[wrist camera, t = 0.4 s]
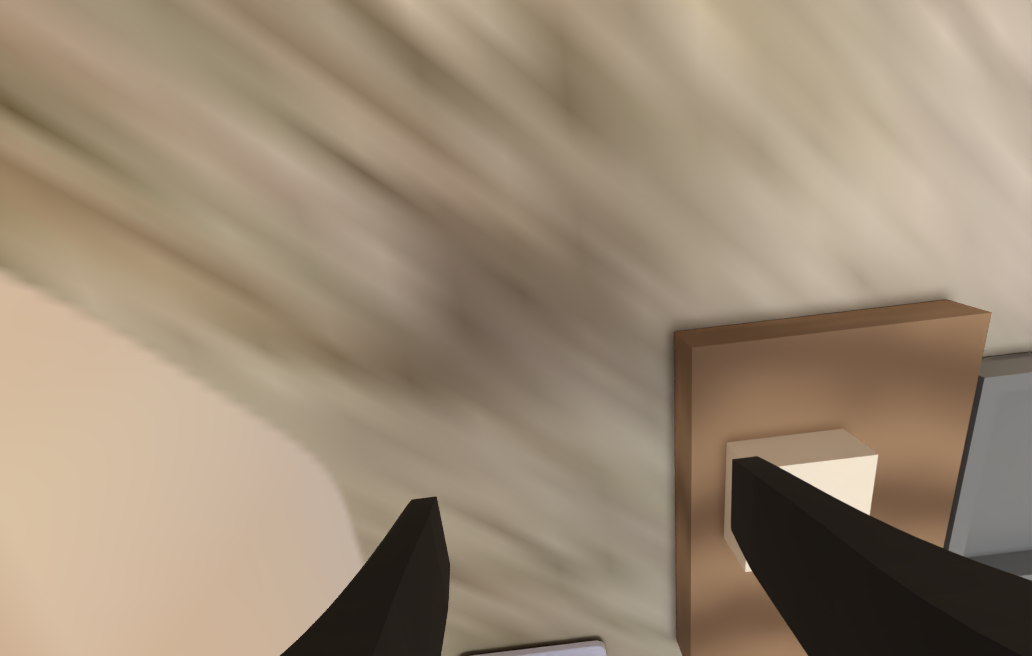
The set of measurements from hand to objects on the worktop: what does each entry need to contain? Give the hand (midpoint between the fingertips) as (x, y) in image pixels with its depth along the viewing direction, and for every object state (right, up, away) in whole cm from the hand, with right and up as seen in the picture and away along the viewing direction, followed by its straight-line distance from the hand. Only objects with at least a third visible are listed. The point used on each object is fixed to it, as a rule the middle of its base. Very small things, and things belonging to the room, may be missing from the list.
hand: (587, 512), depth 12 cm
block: (+10, -2, +10) cm, 14 cm away
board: (+12, -3, +12) cm, 18 cm away
